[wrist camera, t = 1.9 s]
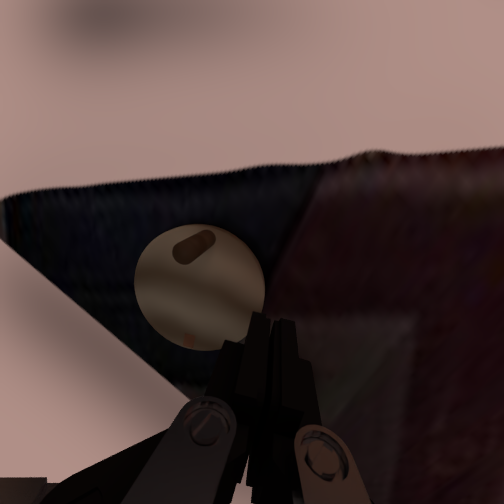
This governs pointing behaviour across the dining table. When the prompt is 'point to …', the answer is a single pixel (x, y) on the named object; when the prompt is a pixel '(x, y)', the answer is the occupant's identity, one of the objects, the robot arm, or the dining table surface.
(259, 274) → the disc
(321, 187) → the dining table surface
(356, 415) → the dining table surface
